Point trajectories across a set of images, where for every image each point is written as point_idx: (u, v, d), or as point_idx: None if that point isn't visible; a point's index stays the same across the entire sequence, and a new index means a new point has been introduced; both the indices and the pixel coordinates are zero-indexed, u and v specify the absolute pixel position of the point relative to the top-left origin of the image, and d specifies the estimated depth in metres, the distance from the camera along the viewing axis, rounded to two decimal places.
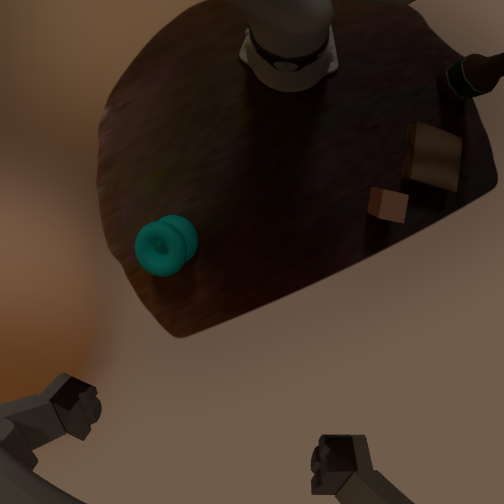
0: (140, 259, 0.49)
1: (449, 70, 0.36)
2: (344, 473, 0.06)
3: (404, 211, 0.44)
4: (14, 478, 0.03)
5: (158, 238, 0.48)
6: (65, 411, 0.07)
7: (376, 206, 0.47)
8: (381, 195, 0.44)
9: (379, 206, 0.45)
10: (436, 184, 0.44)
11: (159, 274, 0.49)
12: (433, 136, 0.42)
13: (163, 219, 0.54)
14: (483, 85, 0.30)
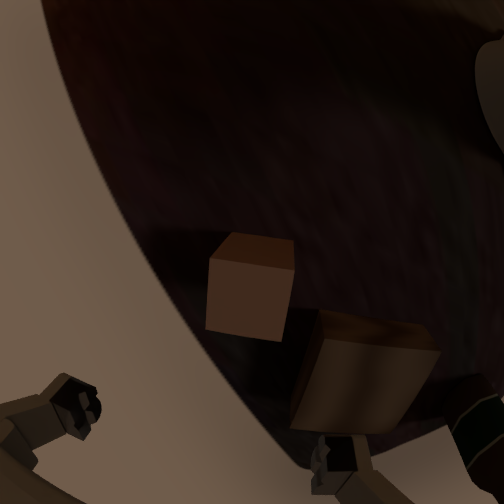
0: None
1: (500, 401, 0.19)
2: (344, 473, 0.06)
3: (236, 331, 0.18)
4: (14, 478, 0.03)
5: None
6: (65, 411, 0.07)
7: (245, 252, 0.19)
8: (276, 265, 0.17)
9: (244, 259, 0.17)
10: (307, 393, 0.22)
11: None
12: (407, 383, 0.21)
13: None
14: (488, 473, 0.13)
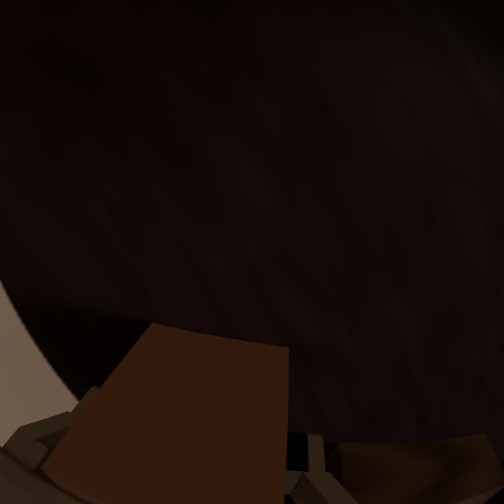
0: None
1: None
2: (294, 472, 0.06)
3: None
4: (14, 478, 0.03)
5: None
6: None
7: (144, 438, 0.05)
8: None
9: (129, 487, 0.04)
10: None
11: None
12: None
13: None
14: None
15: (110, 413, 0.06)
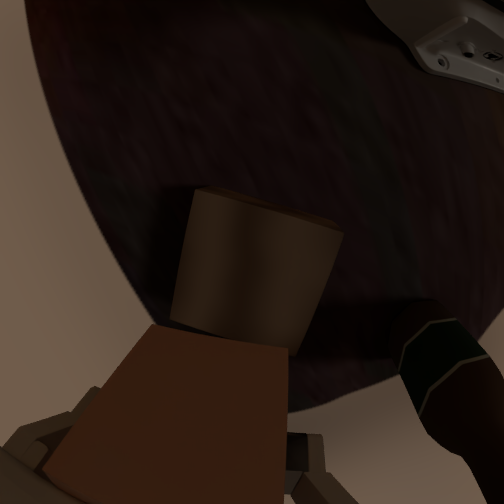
0: None
1: (459, 325, 0.19)
2: (294, 472, 0.06)
3: None
4: (14, 478, 0.03)
5: None
6: None
7: (144, 440, 0.05)
8: None
9: (129, 489, 0.04)
10: (182, 264, 0.22)
11: None
12: (303, 274, 0.21)
13: None
14: (447, 418, 0.13)
15: (110, 415, 0.06)
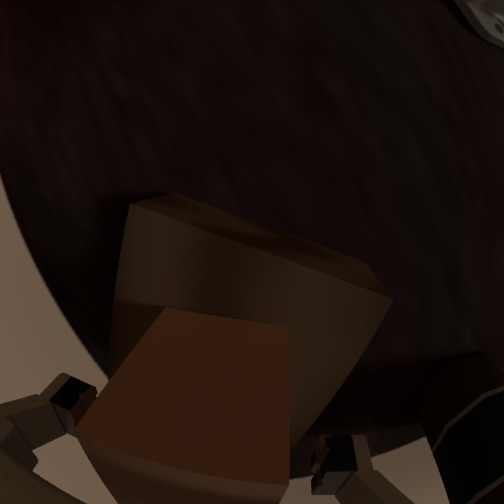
0: None
1: None
2: (344, 473, 0.06)
3: None
4: (14, 478, 0.03)
5: None
6: (65, 411, 0.07)
7: (166, 399, 0.07)
8: (239, 467, 0.05)
9: (155, 441, 0.05)
10: (116, 325, 0.12)
11: None
12: (315, 360, 0.11)
13: None
14: None
15: (135, 380, 0.07)
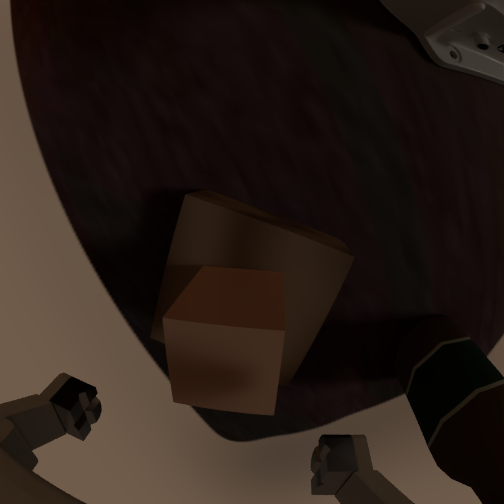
0: None
1: (474, 346, 0.16)
2: (344, 473, 0.06)
3: (213, 405, 0.12)
4: (14, 478, 0.03)
5: None
6: (65, 411, 0.07)
7: (214, 302, 0.13)
8: (258, 324, 0.11)
9: (211, 316, 0.12)
10: (166, 279, 0.19)
11: None
12: (304, 300, 0.18)
13: None
14: (460, 452, 0.10)
15: (194, 295, 0.14)
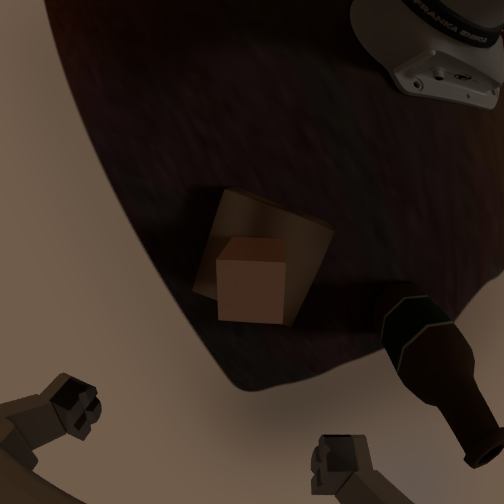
0: None
1: (430, 300, 0.26)
2: (344, 473, 0.06)
3: (244, 318, 0.22)
4: (14, 478, 0.03)
5: None
6: (65, 411, 0.07)
7: (244, 252, 0.23)
8: (271, 260, 0.21)
9: (244, 258, 0.21)
10: (208, 246, 0.28)
11: None
12: (302, 259, 0.27)
13: None
14: (417, 368, 0.20)
15: (231, 250, 0.23)
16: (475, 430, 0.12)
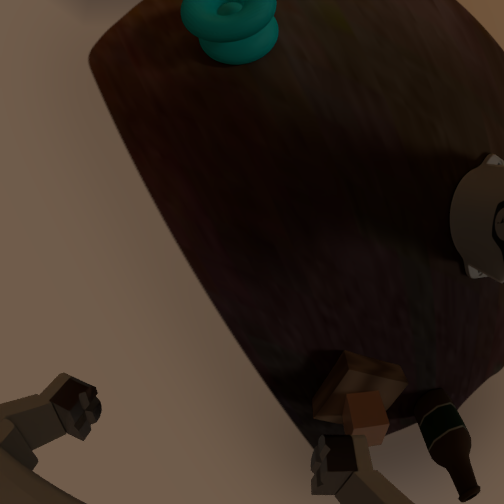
0: None
1: (452, 407, 0.34)
2: (344, 473, 0.06)
3: None
4: (14, 478, 0.03)
5: (247, 0, 0.20)
6: (65, 411, 0.07)
7: (364, 416, 0.31)
8: (381, 422, 0.30)
9: (367, 423, 0.30)
10: (330, 397, 0.37)
11: (184, 4, 0.20)
12: (386, 398, 0.36)
13: None
14: (440, 453, 0.28)
15: (356, 415, 0.32)
16: (464, 486, 0.20)
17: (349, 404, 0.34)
